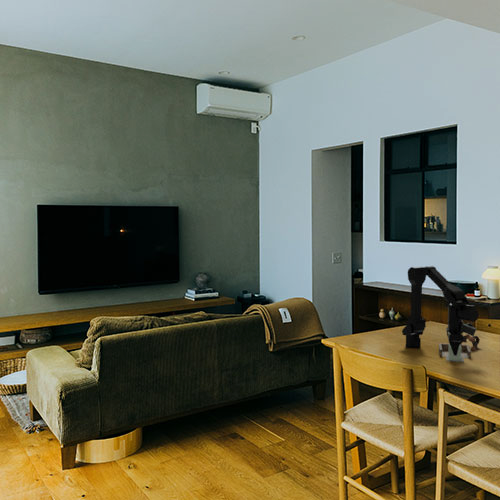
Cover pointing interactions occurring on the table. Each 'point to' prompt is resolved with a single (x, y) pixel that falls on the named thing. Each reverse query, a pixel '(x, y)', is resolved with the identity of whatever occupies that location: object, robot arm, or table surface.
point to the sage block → (451, 355)
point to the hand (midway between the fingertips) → (454, 352)
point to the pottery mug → (472, 339)
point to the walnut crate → (464, 350)
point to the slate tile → (454, 360)
